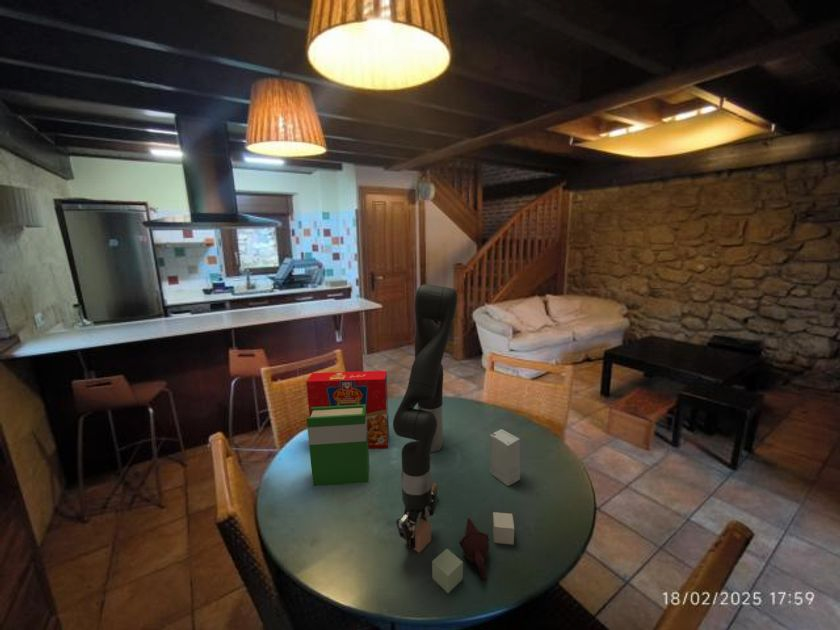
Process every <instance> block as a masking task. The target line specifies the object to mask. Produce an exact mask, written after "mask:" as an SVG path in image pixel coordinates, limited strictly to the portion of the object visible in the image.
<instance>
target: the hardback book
mask: <svg viewBox="0 0 840 630" xmlns="http://www.w3.org/2000/svg"><path fill="white" fill-rule="evenodd" d="M306 428H307V434H308V435H307V437H308V446H309V448H308V449H309V457H310V467H311V469H310V470H311V477H312V487H324V486H338V485H349V484H350V485H353V484H361V483H362V484H363V483H364V484H365V483H366V484H367V483H369V480H370V452H369V450H370V449H368V432H367V414H366V404H360V405H343V406H326V407H311V417H310V416H307V417H306Z"/></svg>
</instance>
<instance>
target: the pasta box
mask: <svg viewBox="0 0 840 630" xmlns="http://www.w3.org/2000/svg"><path fill="white" fill-rule="evenodd" d="M305 382H306V392H307V404H308V413H309V414H308V415H309V417H311V407H326V406H343V405H360V404H366V414H367V432H368V449H369V450H379V449H382V450H384V449H386V450H387V449H389V441H390V427H389V422H390V421H389V406H388V405H389V401H388V399H389V398H388V380H387V370H367V371H365V370H364V371H363V370H361V371H335V372H333V371H332V372H331V371H330V372H311V374H310V375H309V377H308V378H307V380H306V381H305Z"/></svg>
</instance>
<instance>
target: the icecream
mask: <svg viewBox="0 0 840 630" xmlns="http://www.w3.org/2000/svg"><path fill="white" fill-rule="evenodd" d="M489 541H490V539H489V534H487V533H483V532H482V531H479V529H478V527H476V525H475V523H474V522H473V521H472V520H471V518H470V517H467V520H466V527H465V534H464V536H463V537H462V539H461V540H460V541H459V546H460V548H461V549H462V551H463V554H464V555H465V558H467V559H468V561H469V562H470V563H476V566H477V568H478V572H479V576H480V578H481V579H482V580H486V578H487V576H488V575H487V574H488V573H487V572H488V571H487V568H486V565H485V560H486V558H487V556H488V553H489V552H488V551H489V548H490V547H489Z"/></svg>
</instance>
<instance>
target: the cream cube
mask: <svg viewBox="0 0 840 630" xmlns="http://www.w3.org/2000/svg"><path fill="white" fill-rule="evenodd" d="M492 534H493V535H492V537H493V538H492V539H493V544H504V545H514V543H515V542H514V541H515V540H514V539H515V524H514V517H513V513H509V512H508V513H507V512H498V511H497V512H496V511H495V512H494V511H493V512H492Z"/></svg>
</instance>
